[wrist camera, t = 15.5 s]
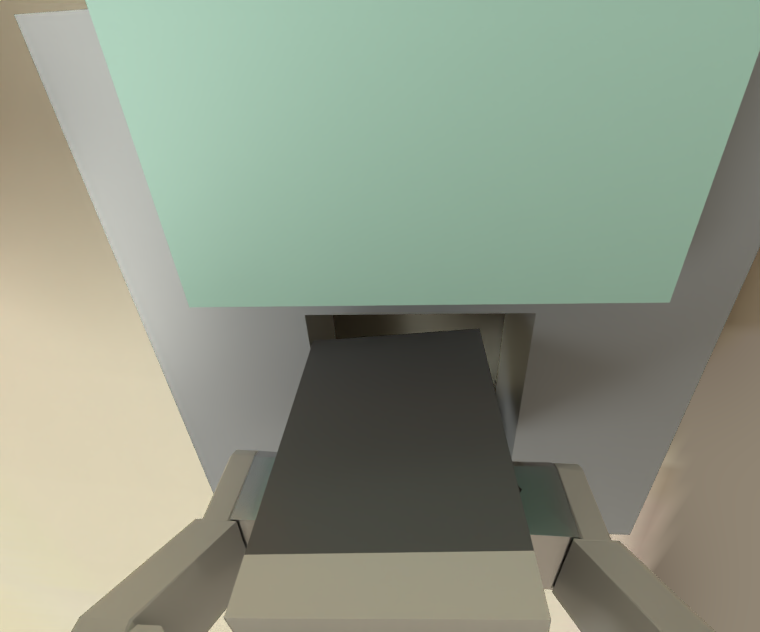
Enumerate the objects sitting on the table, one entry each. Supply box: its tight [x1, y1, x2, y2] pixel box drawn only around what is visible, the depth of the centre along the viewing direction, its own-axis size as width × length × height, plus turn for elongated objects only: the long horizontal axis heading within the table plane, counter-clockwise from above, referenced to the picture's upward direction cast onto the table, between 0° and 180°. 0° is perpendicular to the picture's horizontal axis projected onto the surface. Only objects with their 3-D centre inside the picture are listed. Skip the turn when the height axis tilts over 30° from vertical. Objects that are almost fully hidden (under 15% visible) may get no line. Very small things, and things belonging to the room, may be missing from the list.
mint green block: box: [85, 0, 760, 307], centre depth 7 cm, size 6×8×2 cm
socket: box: [14, 9, 760, 535], centre depth 12 cm, size 15×14×3 cm
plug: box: [224, 329, 551, 632], centre depth 9 cm, size 4×4×6 cm
